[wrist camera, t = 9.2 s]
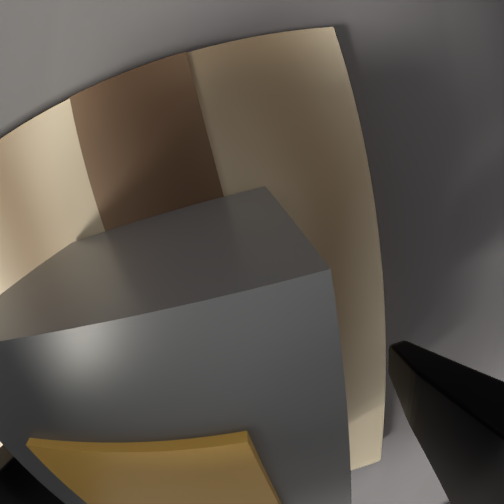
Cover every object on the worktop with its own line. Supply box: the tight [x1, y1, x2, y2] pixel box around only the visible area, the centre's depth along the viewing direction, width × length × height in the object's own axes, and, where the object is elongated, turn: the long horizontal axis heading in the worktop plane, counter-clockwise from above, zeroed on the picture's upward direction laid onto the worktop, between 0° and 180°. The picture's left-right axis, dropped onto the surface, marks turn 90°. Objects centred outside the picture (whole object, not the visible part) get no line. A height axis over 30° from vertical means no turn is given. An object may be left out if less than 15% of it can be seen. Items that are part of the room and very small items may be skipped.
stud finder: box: [0, 186, 351, 504], centre depth 6 cm, size 5×9×5 cm, turn 14°
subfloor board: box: [0, 27, 386, 470], centre depth 9 cm, size 20×16×1 cm
